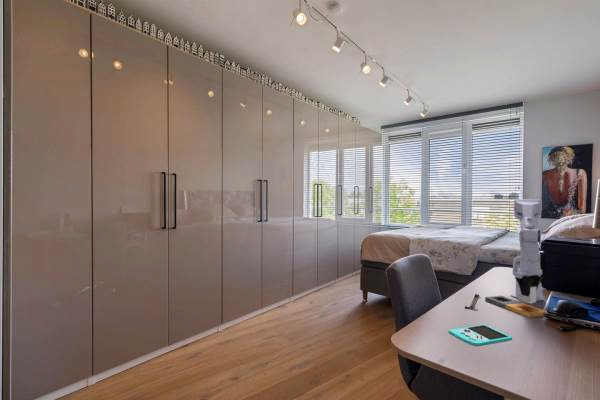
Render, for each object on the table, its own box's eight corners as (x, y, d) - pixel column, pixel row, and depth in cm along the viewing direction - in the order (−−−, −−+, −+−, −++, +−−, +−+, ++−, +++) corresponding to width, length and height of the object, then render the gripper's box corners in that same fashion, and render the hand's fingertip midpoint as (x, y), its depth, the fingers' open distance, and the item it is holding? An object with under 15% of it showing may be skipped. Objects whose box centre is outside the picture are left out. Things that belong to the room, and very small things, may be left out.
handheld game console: (447, 333, 99) (447, 329, 99) (484, 327, 104) (484, 323, 104) (473, 348, 90) (473, 343, 90) (513, 340, 95) (513, 336, 95)
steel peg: (524, 298, 120) (524, 283, 120) (536, 302, 116) (536, 286, 116) (518, 300, 118) (519, 284, 118) (530, 303, 115) (530, 287, 114)
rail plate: (501, 298, 133) (501, 295, 133) (547, 315, 114) (547, 311, 114) (485, 300, 130) (485, 297, 130) (529, 317, 112) (529, 313, 112)
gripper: (528, 256, 123) (527, 289, 124) (507, 259, 117) (506, 293, 117) (548, 259, 117) (547, 294, 117) (527, 262, 111) (526, 299, 111)
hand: (528, 294), depth 117 cm, fingers closed on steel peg, 4 cm apart
